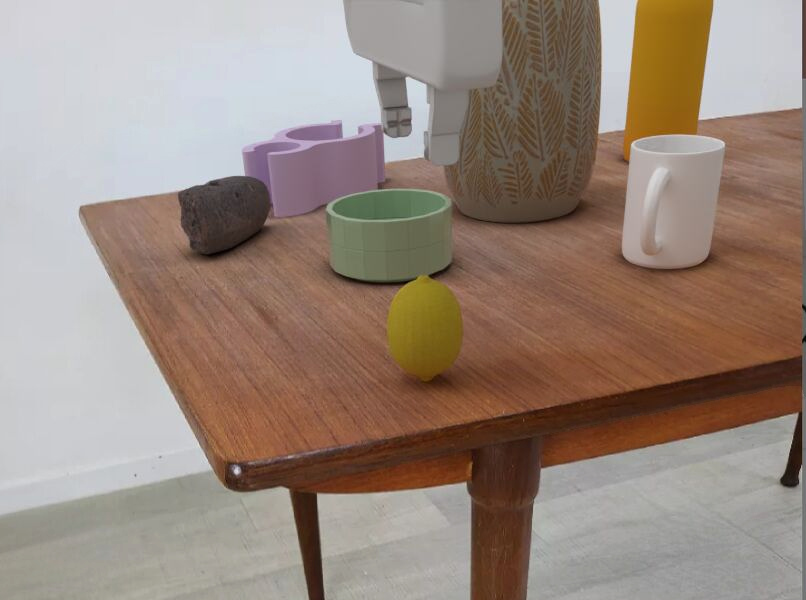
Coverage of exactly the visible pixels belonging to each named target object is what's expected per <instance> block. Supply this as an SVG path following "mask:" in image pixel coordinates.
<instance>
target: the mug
mask: <svg viewBox="0 0 806 600" xmlns="http://www.w3.org/2000/svg"><path fill="white" fill-rule="evenodd" d="M725 151H726V143H725V142H724V141H723V140H721V139H720V138H715V137H711V136H707V135H706V136H705V135H698V134H697V135H660V136H652V137H646V138H642V139H638V140H636V141H634V142H633V143H632V144H631V150H630V161H629V162H628V171H627V173H628V174H627V184H626V193H625V205H624V216H623V227H622V238H621V253H622V256H623V258H624V259H625V260H626V261H627V262H628V263H630V264H632V265H635V266H639V267H643V268H647V269H656V270H678V269H680V270H681V269H686V268H687V269H688V268H692V267H695V266H698V265H700V264H701V263H704V261H705V260H706V259H707V258H708V256H709V254H710V251H711V245H712V239H713V234H714V227H715V226H714V225H715V219H716V212H717V205H718V199H719V193H720V192H719V191H720V185H721V178H722V172H723V165H724V158H725Z"/></svg>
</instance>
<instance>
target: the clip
mask: <svg viewBox="0 0 806 600" xmlns="http://www.w3.org/2000/svg"><path fill="white" fill-rule="evenodd" d="M357 131H358V132H357V133H358V134H356V135H352V136H347V137H344V134H343V133H344V132H343V120H342V119H333V120H331V121H330V122H323V123H312V124H303V125H299V126H297V125H296V126H293V127H288V128H284V129H283V130H282V129H281V130H280V131H278V132H276V133H275V134H274V135H273V138H272V139H268V140H265V141H259V142H255V143H251V144H248V145H246V146H243V147H242V148H241V154H242V162H243V163H242V164H243V171H244V176H249V177H254V178H257V179H259V180H260V181H262V182H264V184H265V185H266V186H267V189H268V191H269V194H270V205H272V208H273V217H275V218H284V217H295V216H299V215H304V214H307V213H310V212H312V211H314V210H316V209H317V208H319V207H321V206H323V205H328V204H329V203H331V202H332V201H334V200H336V199H337V198H340V197H343V196H347V195H350V194H354V193H360V192H365V191H372V190H379V185H378V184H381V183H385V182H386V161H385V159H386V158H385V139H384V138H385V137H384V133H383V132H382V129H381V122H378V123H377V122H376V123H367V124H361V125H358V126H357Z"/></svg>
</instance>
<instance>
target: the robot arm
mask: <svg viewBox="0 0 806 600" xmlns="http://www.w3.org/2000/svg"><path fill="white" fill-rule="evenodd" d="M342 4H343V5H342V6H343V12H344V19H345V27H346V33H347V37H348V40H349V44H350V47H351V50H352V52H353V53H354V54H355V55H356V56H358V57H361V58H364V59H366V60H369V61H370V62H372V79H373V84H374V87H375V92H376V94H377V95H376V96H377V100H378V105H379V107H380V123H381V129H382V132H383V135H386V136H387V137H389V138H391V139H397V138H406V137H407V138H408V137H409V136H410V135H411V134H412V131H413V124H412V120H413V114H412V113H413V112H412V111H413V110H412V109H413V108H412V107H410V106H409V99H408V89H407V79H406V78H410V79H412V80H415V81H417V82H419V83H421V84H424V85H425V86H426V90H425V91H426V103H427V104H428V105H429V111H428V120H427V121H428V122H427V130H426V131H423V145H424V147H423V148H424V149H423V157H424V159H425V160H426V161H427V162H429V163H430V164H432V165H433V166H435V167H443V166H446V165H453V164H455V163H456V162H457V161H458V159H459V133H460V131H461V127H462V124H463V120H464V117H465V113H466V110H467V106H468V90H470V89H478V88H487V87H491V86H493V85H494V84H495V83H496V80H497V78H498V75H499V72H500V68H501V64H502V0H342Z"/></svg>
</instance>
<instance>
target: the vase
mask: <svg viewBox="0 0 806 600" xmlns="http://www.w3.org/2000/svg"><path fill="white" fill-rule="evenodd" d="M602 41H603V40H602V23H601V9H600V0H502V64H501V68H500V72H499V75H498V78H497V80H496V83H495V84H494V85H493V86H491V87H487V88H478V89H470V90H468V106H467V110H466V113H465V117H464V120H463V124H462V127H461V131H460V133H459V159H458V161H457V162H456V163H455V164H453V165H446V166H442V167H443V174H444V179H445V183H446V185H447V189H448V190H449V193H450V194H451V198H452V199H453V201H454V203H455V205H456V207H457V210H458V211H459V212H460V213H462V214H463V216H464V215H465V216H466V217H469V218H470V219H471V218H472V219H475V220H479V221H482V222H483V221H485V222H490V223H500V224H525V223H536V222H544V221H549V220H554V219H558V218H561V217H565V216H566V215H568V214H571V213H572V212H573V211H574V210H575V209H577V207H578V205H579V203H580V201H581V199H582V198H583V196H584V195H585V193H586V191H587V189H588V187H589V184H590V182H591V180H592V177H593V173H594V170H595V165H596V158H597V149H598V141H599V130H600V129H599V128H600V115H601V102H602V101H601V100H602V98H601V97H602V71H603V70H602V69H603V66H602V63H603V59H602V58H603V56H602V55H603V45H602Z"/></svg>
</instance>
